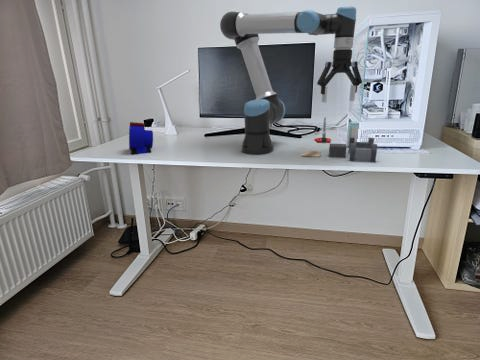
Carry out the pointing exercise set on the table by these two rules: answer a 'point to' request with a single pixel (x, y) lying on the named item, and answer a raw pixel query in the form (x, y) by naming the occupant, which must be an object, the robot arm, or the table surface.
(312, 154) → the cork mat
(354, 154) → the housing
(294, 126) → the table surface
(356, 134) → the can
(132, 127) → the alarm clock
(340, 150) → the plug
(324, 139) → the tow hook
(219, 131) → the table surface
